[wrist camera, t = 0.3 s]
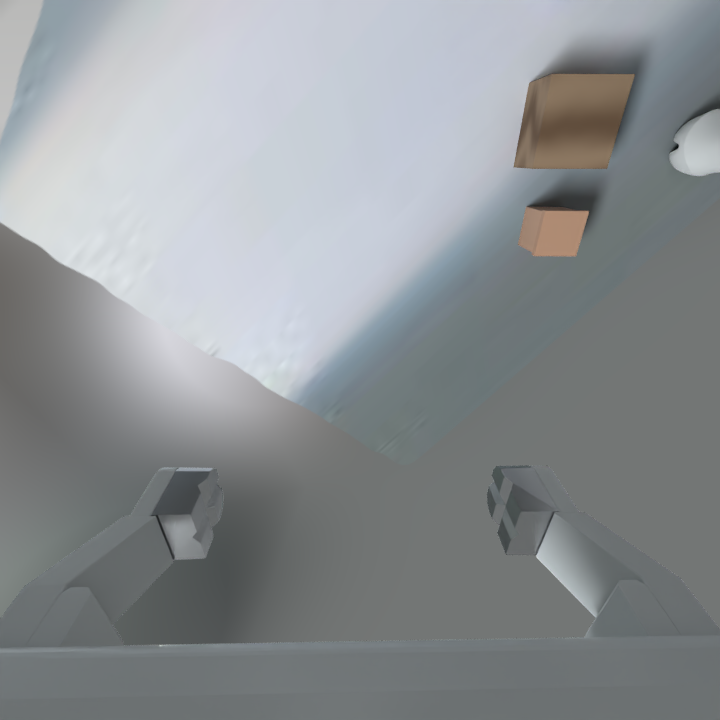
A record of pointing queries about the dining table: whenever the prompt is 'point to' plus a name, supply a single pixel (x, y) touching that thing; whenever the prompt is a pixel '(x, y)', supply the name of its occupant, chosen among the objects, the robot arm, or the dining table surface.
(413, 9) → the dining table surface
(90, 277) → the dining table surface
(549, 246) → the brown cardboard box
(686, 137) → the water bottle
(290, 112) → the dining table surface
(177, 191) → the dining table surface
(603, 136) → the walnut box
